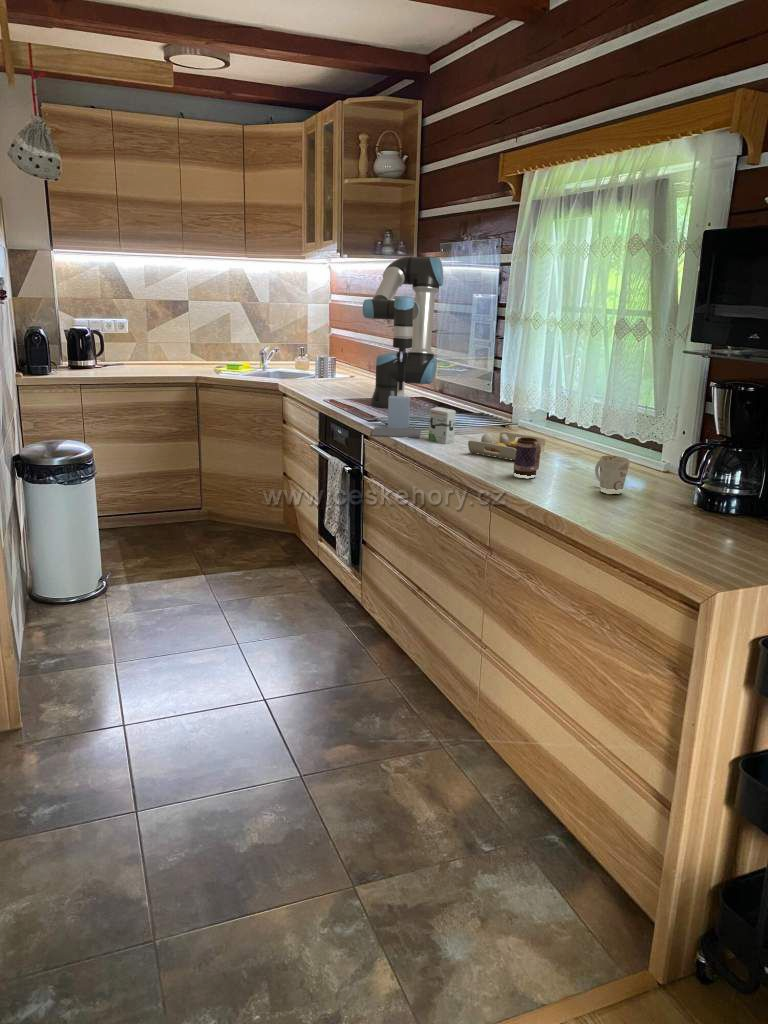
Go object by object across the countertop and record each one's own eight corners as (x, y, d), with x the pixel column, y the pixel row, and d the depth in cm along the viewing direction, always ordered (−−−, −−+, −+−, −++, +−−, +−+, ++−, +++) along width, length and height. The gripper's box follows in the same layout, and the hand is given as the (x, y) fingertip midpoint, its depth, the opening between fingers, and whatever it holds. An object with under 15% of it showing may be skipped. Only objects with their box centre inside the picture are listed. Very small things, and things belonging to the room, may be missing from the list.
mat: (374, 428, 306) (374, 427, 305) (420, 430, 304) (421, 429, 304) (370, 436, 292) (370, 434, 292) (419, 438, 291) (419, 437, 291)
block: (388, 426, 311) (389, 395, 307) (408, 427, 310) (410, 396, 307) (387, 428, 306) (388, 397, 303) (408, 429, 306) (409, 398, 302)
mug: (608, 497, 223) (612, 463, 220) (581, 485, 234) (584, 453, 231) (631, 495, 227) (636, 461, 224) (603, 483, 237) (607, 451, 234)
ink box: (427, 440, 288) (429, 408, 285) (436, 438, 292) (437, 406, 288) (446, 444, 283) (447, 411, 279) (454, 442, 286) (456, 410, 282)
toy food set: (514, 464, 259) (516, 441, 257) (466, 455, 269) (467, 433, 267) (546, 451, 279) (548, 429, 277) (500, 443, 289) (501, 422, 287)
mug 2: (508, 474, 245) (511, 436, 241) (529, 473, 247) (532, 435, 244) (524, 482, 236) (528, 443, 232) (545, 481, 238) (549, 442, 234)
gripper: (394, 335, 313) (392, 395, 320) (391, 338, 301) (389, 400, 308) (413, 336, 313) (410, 395, 319) (411, 339, 300) (409, 400, 307)
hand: (400, 397), depth 314 cm, fingers closed
